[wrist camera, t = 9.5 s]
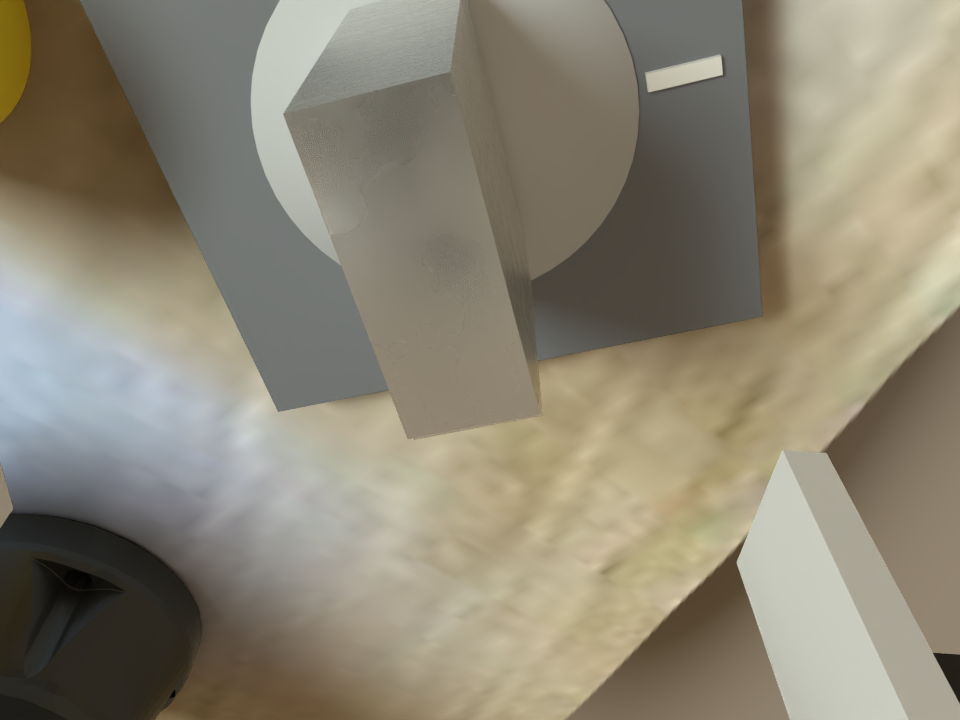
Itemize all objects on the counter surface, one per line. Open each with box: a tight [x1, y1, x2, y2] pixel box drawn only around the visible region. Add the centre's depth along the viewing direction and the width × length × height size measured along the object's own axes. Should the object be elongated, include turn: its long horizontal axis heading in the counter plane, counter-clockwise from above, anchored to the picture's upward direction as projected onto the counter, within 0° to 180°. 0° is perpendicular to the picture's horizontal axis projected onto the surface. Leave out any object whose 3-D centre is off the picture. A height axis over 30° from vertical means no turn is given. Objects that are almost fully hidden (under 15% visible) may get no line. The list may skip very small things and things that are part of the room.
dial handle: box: [283, 0, 543, 440], centre depth 24 cm, size 9×4×10 cm, turn 14°
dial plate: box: [80, 0, 763, 412], centre depth 29 cm, size 20×20×3 cm
